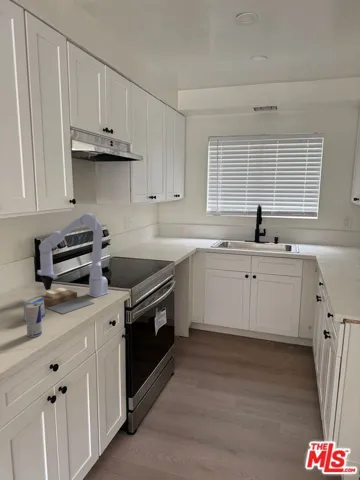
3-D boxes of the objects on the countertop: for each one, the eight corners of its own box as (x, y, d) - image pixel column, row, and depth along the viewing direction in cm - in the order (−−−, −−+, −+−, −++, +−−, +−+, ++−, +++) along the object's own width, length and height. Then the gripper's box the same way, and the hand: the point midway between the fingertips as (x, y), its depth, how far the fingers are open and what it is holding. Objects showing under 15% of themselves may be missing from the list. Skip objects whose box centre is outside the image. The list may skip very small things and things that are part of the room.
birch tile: (61, 291, 173) (61, 287, 172) (68, 293, 169) (68, 289, 169) (46, 295, 165) (45, 291, 165) (53, 298, 162) (52, 294, 162)
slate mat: (78, 298, 172) (78, 297, 172) (94, 303, 165) (94, 302, 165) (47, 308, 158) (47, 307, 158) (62, 314, 151) (62, 313, 151)
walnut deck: (65, 294, 177) (65, 288, 177) (77, 298, 171) (76, 292, 171) (37, 303, 164) (37, 296, 164) (49, 307, 158) (49, 300, 158)
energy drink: (45, 332, 132) (43, 303, 130) (36, 338, 127) (34, 308, 125) (33, 330, 134) (31, 302, 132) (24, 336, 129) (22, 307, 127)
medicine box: (33, 322, 142) (31, 302, 140) (24, 320, 143) (23, 301, 142) (45, 315, 149) (44, 297, 148) (36, 314, 151) (35, 296, 149)
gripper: (31, 263, 171) (32, 288, 173) (47, 267, 162) (49, 294, 164) (43, 260, 176) (45, 285, 178) (60, 265, 168) (61, 290, 170)
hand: (47, 289), depth 172 cm, fingers closed
